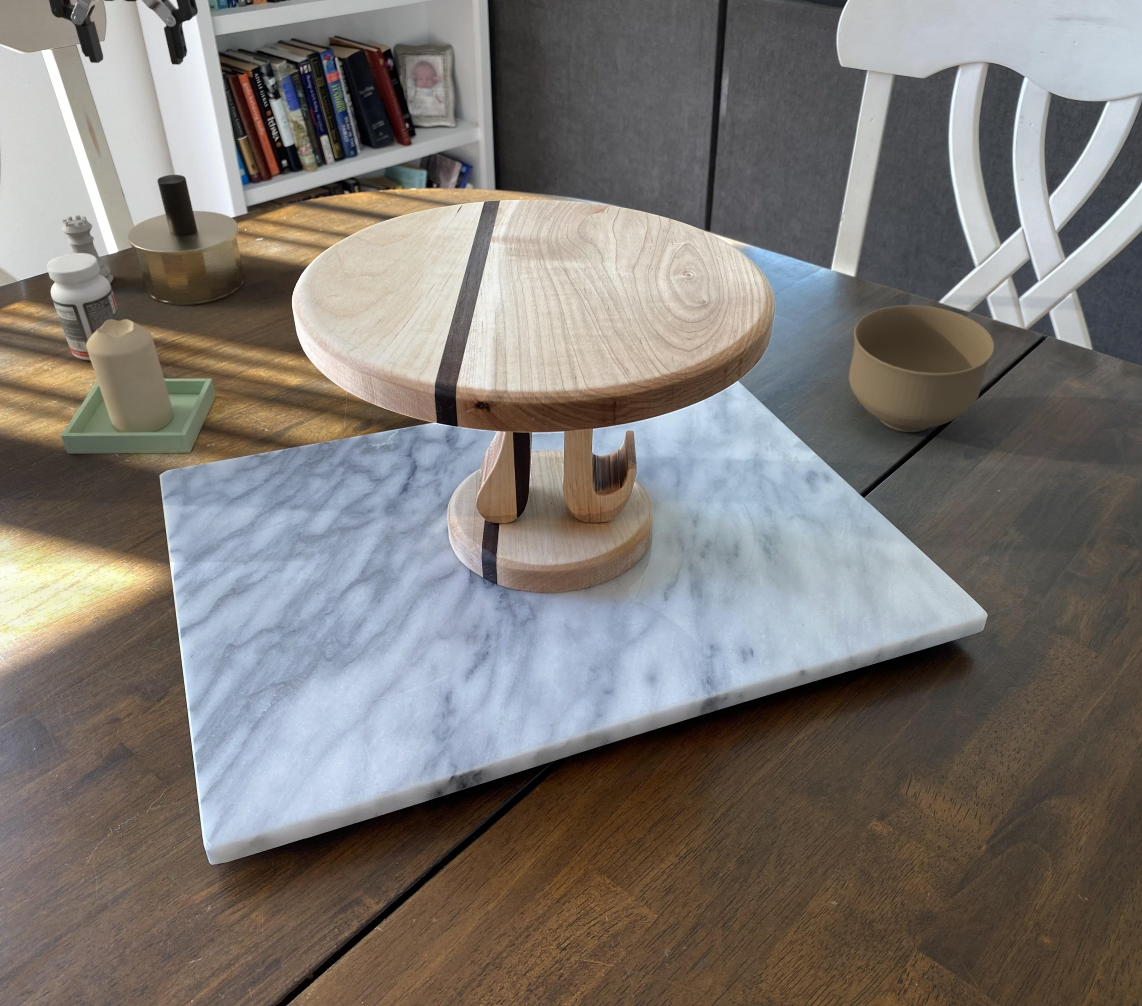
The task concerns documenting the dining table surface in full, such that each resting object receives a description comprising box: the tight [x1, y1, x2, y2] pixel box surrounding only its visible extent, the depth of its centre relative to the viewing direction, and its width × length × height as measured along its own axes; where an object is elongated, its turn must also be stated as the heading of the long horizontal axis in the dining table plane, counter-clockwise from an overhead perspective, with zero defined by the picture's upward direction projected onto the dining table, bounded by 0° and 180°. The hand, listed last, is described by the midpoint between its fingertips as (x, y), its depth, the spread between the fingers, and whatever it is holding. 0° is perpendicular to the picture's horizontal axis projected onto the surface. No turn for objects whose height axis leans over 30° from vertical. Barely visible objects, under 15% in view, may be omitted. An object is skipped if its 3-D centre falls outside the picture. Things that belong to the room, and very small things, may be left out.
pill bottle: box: [46, 252, 122, 361], centre depth 97 cm, size 6×6×10 cm
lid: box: [127, 174, 240, 256], centre depth 108 cm, size 12×12×7 cm
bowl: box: [848, 304, 996, 433], centre depth 91 cm, size 13×13×10 cm
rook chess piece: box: [61, 214, 114, 285], centre depth 110 cm, size 4×4×8 cm
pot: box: [135, 236, 245, 306], centre depth 111 cm, size 11×11×6 cm
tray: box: [60, 378, 217, 455], centre depth 89 cm, size 11×10×2 cm
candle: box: [86, 318, 173, 433], centre depth 86 cm, size 6×6×10 cm
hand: (138, 62), depth 101 cm, fingers open, 8 cm apart
